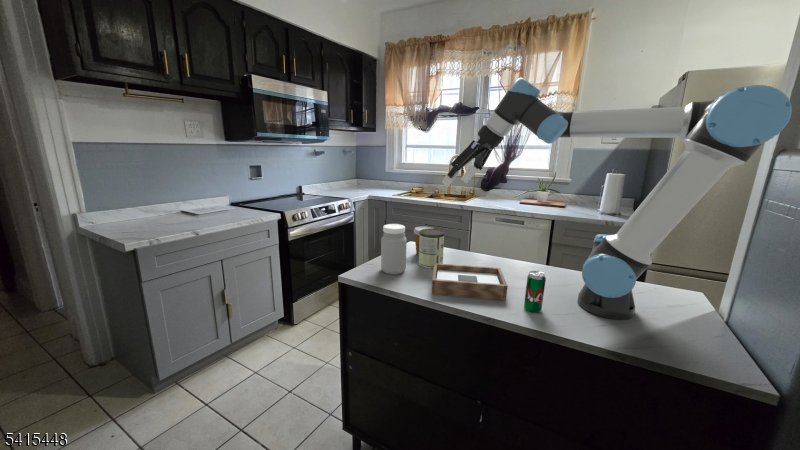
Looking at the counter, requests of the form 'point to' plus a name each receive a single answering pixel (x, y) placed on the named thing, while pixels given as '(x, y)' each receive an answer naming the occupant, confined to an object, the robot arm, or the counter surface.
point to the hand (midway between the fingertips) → (454, 182)
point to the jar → (393, 249)
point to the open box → (469, 283)
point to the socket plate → (467, 276)
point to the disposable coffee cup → (417, 234)
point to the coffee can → (431, 247)
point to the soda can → (534, 291)
